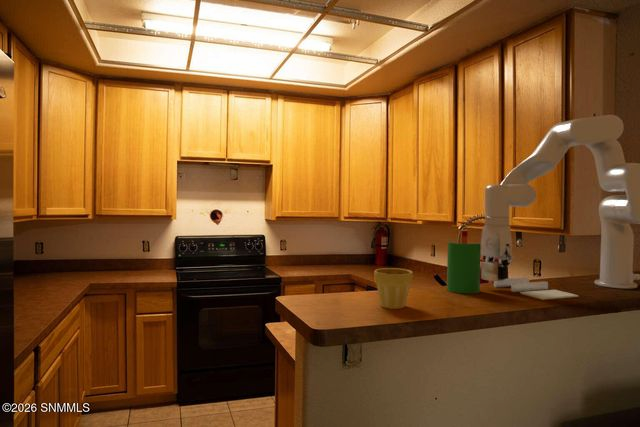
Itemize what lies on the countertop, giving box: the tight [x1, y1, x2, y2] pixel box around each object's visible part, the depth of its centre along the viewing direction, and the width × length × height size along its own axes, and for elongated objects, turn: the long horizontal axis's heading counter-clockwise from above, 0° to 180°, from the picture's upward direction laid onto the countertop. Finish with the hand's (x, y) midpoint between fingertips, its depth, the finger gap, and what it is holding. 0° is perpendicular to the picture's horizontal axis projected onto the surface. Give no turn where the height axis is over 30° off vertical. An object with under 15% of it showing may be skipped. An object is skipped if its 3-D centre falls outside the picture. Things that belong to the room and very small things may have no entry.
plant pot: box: [373, 267, 414, 310], centre depth 127 cm, size 10×10×10 cm
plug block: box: [480, 260, 504, 282], centre depth 151 cm, size 5×5×6 cm
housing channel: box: [493, 276, 549, 293], centre depth 155 cm, size 14×9×2 cm
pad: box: [519, 289, 579, 301], centre depth 144 cm, size 14×9×1 cm, turn 109°
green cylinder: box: [446, 229, 481, 295], centre depth 149 cm, size 10×9×20 cm
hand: (496, 276), depth 152 cm, fingers closed on plug block, 5 cm apart
